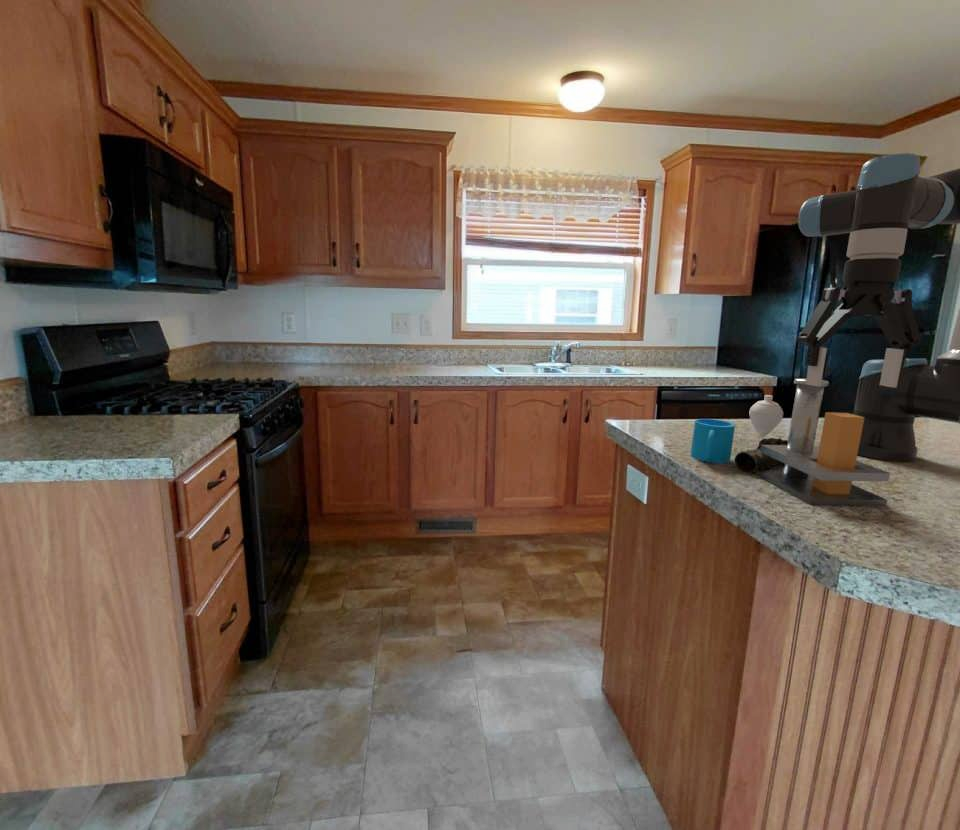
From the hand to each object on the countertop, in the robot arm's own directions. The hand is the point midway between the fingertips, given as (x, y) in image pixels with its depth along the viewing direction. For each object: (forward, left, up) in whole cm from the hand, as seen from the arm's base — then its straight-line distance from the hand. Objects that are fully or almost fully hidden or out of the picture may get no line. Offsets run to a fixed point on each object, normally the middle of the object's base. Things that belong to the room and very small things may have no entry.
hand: (850, 385), depth 88 cm
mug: (+12, -21, -20) cm, 32 cm away
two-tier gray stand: (0, -3, -20) cm, 20 cm away
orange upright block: (0, 0, -19) cm, 19 cm away
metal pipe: (+1, -18, -21) cm, 27 cm away
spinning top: (-12, -40, -20) cm, 46 cm away
